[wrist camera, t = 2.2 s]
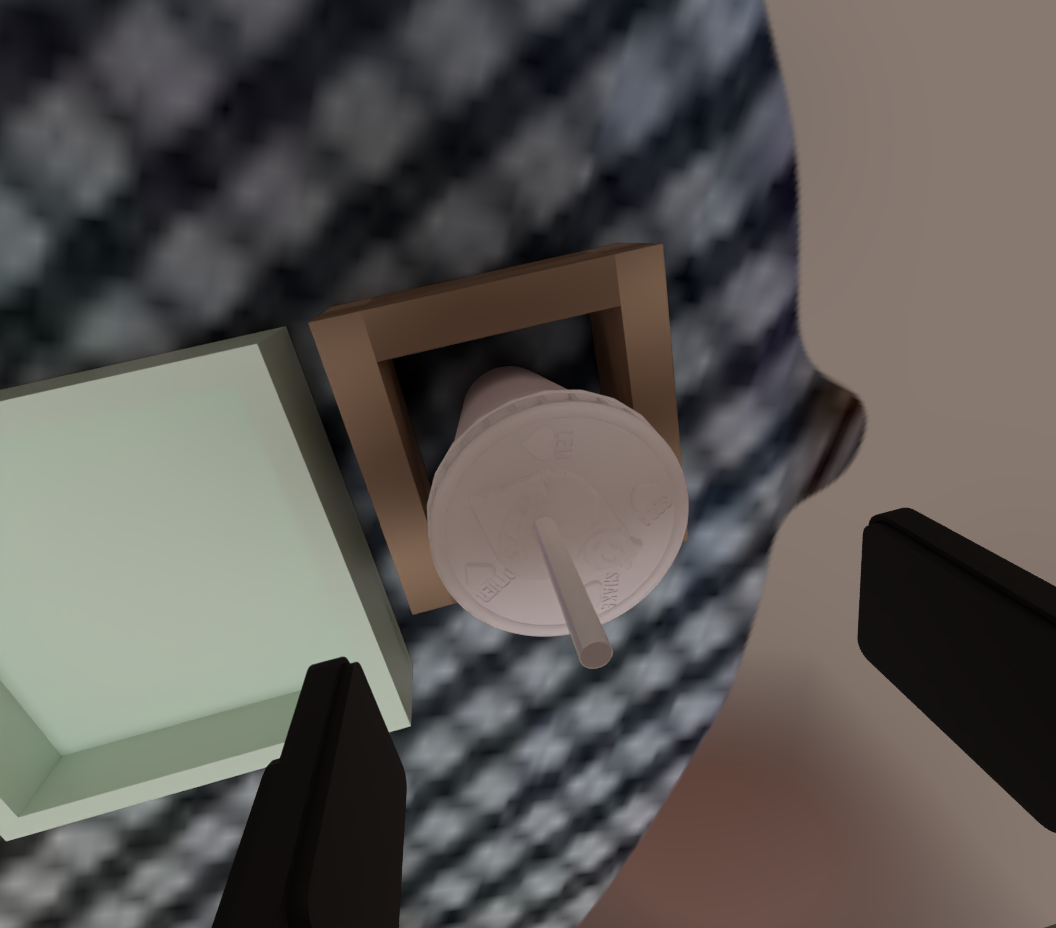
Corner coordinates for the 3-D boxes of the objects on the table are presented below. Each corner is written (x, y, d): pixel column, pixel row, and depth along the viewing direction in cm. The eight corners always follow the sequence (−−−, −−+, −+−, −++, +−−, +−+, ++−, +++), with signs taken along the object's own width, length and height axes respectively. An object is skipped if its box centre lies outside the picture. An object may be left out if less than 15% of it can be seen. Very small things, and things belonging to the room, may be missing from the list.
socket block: (331, 306, 19) (308, 322, 15) (619, 242, 20) (662, 243, 16) (415, 556, 23) (412, 614, 20) (648, 494, 24) (688, 540, 20)
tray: (-204, 435, 18) (-342, 478, 15) (286, 326, 19) (257, 343, 16) (61, 762, 24) (6, 841, 21) (413, 665, 25) (410, 725, 22)
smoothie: (463, 302, 20) (528, 418, 7) (613, 368, 22) (881, 553, 9) (403, 456, 21) (367, 771, 9) (547, 504, 23) (688, 820, 11)
